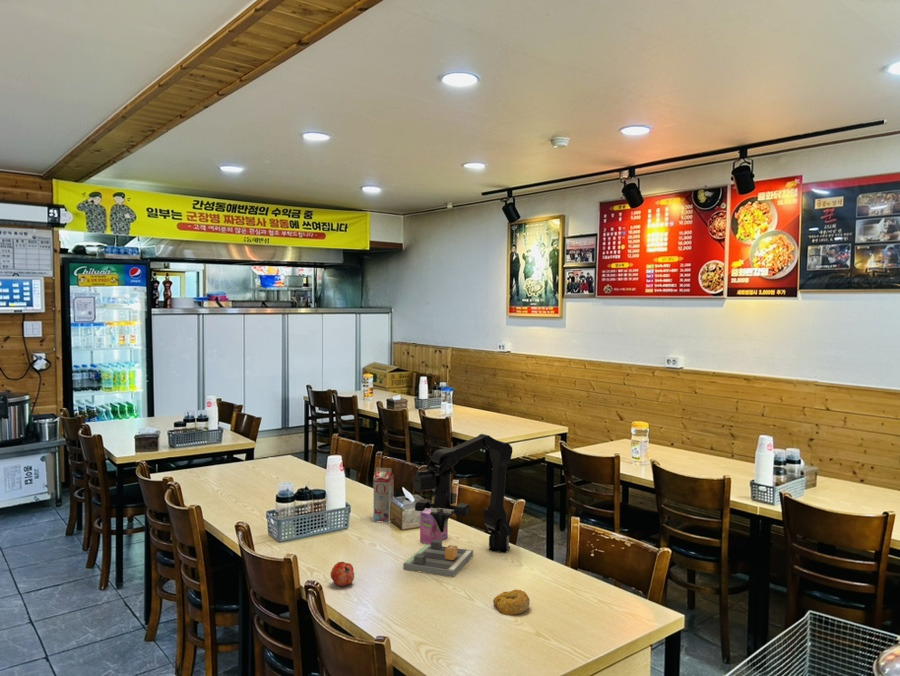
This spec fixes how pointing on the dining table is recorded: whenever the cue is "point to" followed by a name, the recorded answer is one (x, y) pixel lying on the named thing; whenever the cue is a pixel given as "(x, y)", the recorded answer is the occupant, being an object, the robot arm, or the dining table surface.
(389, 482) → the juice carton
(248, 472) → the dining table surface
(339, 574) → the pomegranate
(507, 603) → the bagel
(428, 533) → the box
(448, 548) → the handle
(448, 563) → the panel
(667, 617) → the dining table surface
